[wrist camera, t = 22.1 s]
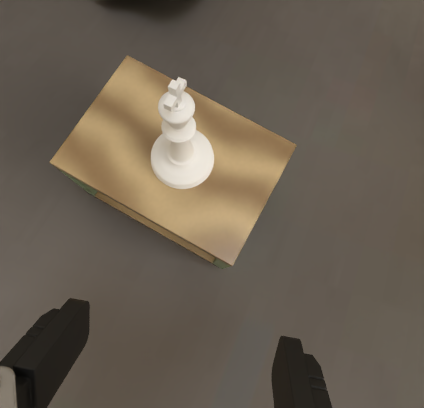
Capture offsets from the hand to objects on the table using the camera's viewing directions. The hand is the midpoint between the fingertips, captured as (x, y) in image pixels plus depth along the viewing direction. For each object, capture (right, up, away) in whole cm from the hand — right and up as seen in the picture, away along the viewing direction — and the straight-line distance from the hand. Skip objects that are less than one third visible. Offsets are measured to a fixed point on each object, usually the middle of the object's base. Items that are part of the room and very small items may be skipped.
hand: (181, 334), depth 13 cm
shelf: (-2, +7, +21) cm, 22 cm away
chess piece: (-1, +9, +12) cm, 15 cm away
